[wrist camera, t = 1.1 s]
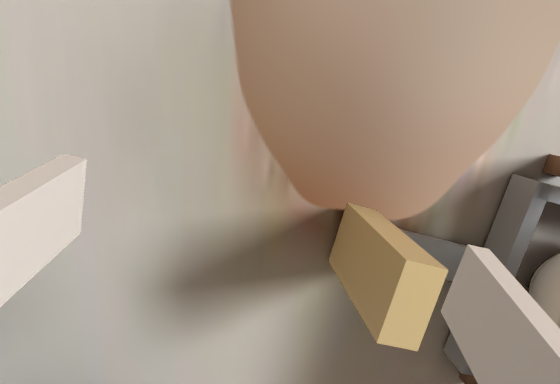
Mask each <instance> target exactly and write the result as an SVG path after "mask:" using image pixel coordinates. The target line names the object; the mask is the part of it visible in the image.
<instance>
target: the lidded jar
mask: <svg viewBox="0 0 560 384" xmlns="http://www.w3.org/2000/svg"><path fill="white" fill-rule="evenodd" d="M529 294H530V296H531V297H532V298H533V299H534V300H535V301H536V302H537V303H538V305H539V306H540V307H541V308H542V309H543V310H544V311H545V312H546V314H547V315H548V316H549V317H550V318H551V319H552V320H553V321H554V323H555V324H556V325H557V326H558V327H559V328H560V253H559V254H557V255H555V256H553V257H551V258H549V259H547V260H546V261H545V262H543V263H542V264H541V265H540V266H539V267H538V268H537V270H536V271H535V273H534V274H533V276H532V278H531V281H530V284H529Z"/></svg>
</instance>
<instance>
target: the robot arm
mask: <svg viewBox="0 0 560 384" xmlns="http://www.w3.org/2000/svg"><path fill="white" fill-rule="evenodd" d="M86 163H87V159H85V158H81V157H76V156H72V155H67V154H62V155H60V156H58V157H57V158H55V159H53V160H51V161H49V162H47V163H45V164H43V165H41V166H39V167H37V168H35V169H33V170H31V171H29V172H27V173H26V174H24V175H22V176H20V177H18V178H16V179H14V180H12V181H10V182H8V183H6V184H4V185H2V186H0V307H1V306H2V305H3V304H4V303H5V302H6V301H8V300H9V299H10V298H11V297H12V296H13V295H14V294H15V293H16V292H17V291H18V290H19V289H21V288H22V287H23V286H24V285H25V284H26V283H27V282H28V281H29V280H30V279H31V278H32V277H34V276H35V275H36V274H37V273H38V272H39V271H40V270H41V269H42V268H43V267H44V266H45V265H47V264H48V263H49V262H50V261H51V260H52V259H53V258H54V257H55V256H56V255H57V254H58V253H60V252H61V251H62V250H63V249H64V248H65V247H66V246H67V245H68V244H69V243H70V242H71V241H72V240H74V239H75V238H76V237H77V236H78V235H79V234H80V233H81V222H82V210H83V198H84V187H85V175H86ZM441 313H442V315H443V317H444V319H445V321H446V323H447V325H448V327H449V329H450V331H451V333H452V335H453V336H454V338H455V340H456V342H457V344H458V346H459V348H460V350H461V352H462V354H463V356H464V358H465V360H466V362H467V364H468V366H469V367H470V369H471V371H472V373H473V375H474V377H475V379H476V381H477V383H478V384H560V328H559V327H558V326H557V325H556V324H555V323H554V321H553V320H552V319H551V318H550V317H549V316H548V315H547V314H546V312H545V311H544V310H543V309H542V308H541V307H540V306H539V305H538V303H537V302H536V301H535V300H534V299H533V298H532V297H531V296H530V294H529V293H528V292H527V291H526V290H525V289H524V288H523V287H522V285H521V284H520V283H519V282H518V281H517V280H516V279H515V278H514V276H513V275H512V274H511V273H510V272H509V271H508V270H507V269H506V267H505V266H504V265H503V264H502V263H501V262H500V261H499V260H498V258H497V257H496V256H495V255H494V254H493V253H492V252H491V251H490V249H487V248H482V247H478V246H473V245H469V244H468V245H467V247H466V250H465V252H464V255H463V257H462V259H461V262H460V264H459V267H458V269H457V272H456V274H455V277H454V279H453V282H452V284H451V287H450V289H449V292H448V294H447V296H446V299H445V301H444V304H443V306H442V309H441Z"/></svg>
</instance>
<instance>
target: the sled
mask: <svg viewBox="0 0 560 384" xmlns="http://www.w3.org/2000/svg"><path fill="white" fill-rule="evenodd" d="M547 201H549V202H552V203H556V204H560V187H558V186H554V185H551V184H547V183H544V182H540V181H537V180H533V179H530V178H527V177H523V176H520V175H516V174H512V177H511V179H510V182H509V184H508V187H507V189H506V192H505V194H504V197H503V199H502V202H501V205H500V207H499V210H498V212H497V215H496V217H495V220H494V222H493V225H492V227H491V230H490V233H489V235H488V238H487V240H486V243H485V245H484V248H487V249H490V251H491V252H492V253H493V254H494V255H495V256H496V257H497V258H498V260H499V261H500V262H501V263H502V264H503V265H504V266H505V267H506V269H507V270H508V271H509V272H510V273H511V274H512V275H513V276H514V278H515V277H516V274H517V272H518V269H519V267H520V264H521V262H522V260H523V257H524V255H525V252H526V250H527V247H528V245H529V243H530V240H531V238H532V235H533V233H534V231H535V228H536V226H537V223H538V221H539V218H540V216H541V214H542V211H543V209H544V206H545V204H546V202H547ZM466 247H467V245H463V244H459V243H455V242H451V241H447V240H443V239H439V238H435V237H431V236H427V235H423V234H419V233H415V232H411V231H407V230H403V229H399V228H397V227H396V226H395V225H394V224H393V223H391V222H390V221H389V220H388V219H387V218H385V217H384V216H383V215H382V214H381V213H379V212H378V211H377V210H374V209H370V208H367V207H363V206H359V205H355V204H351V203H347V205H346V208H345V211H344V214H343V217H342V220H341V223H340V226H339V229H338V232H337V235H336V239H335V242H334V245H333V248H332V251H331V254H330V257H329V260H328V261H329V263H330V264H331V266H332V268H333V270H334V271H335V273H336V275H337V276H338V278H339V280H340V282H341V283H342V285H343V287H344V288H345V290H346V292H347V293H348V295H349V297H350V299H351V300H352V302H353V304H354V305H355V307H356V309H357V310H358V312H359V314H360V316H361V317H362V319H363V321H364V322H365V324H366V326H367V328H368V329H369V331H370V333H371V334H372V336H373V338H374V339H375V341H376V343H378V344H383V345H388V346H393V347H398V348H403V349H408V350H413V351H418V349H419V347H420V344H421V341H422V339H423V336H424V333H425V331H426V328H427V326H428V323H429V320H430V318H431V315H432V312H433V310H434V307H435V305H436V302H437V299H438V297H439V294H440V291H441V289H442V286H443V284H444V281H445V280H448V281H452V282H453V279H454V277H455V274H456V272H457V269H458V267H459V264H460V262H461V259H462V257H463V255H464V252H465V250H466ZM443 352H444V353H445V354H446V355H447V357H448V358H449V359H450V360H451V362H452V363H453V364H454V365H455V366H456V368H457V369H458V370H459V371H460V373H461V374H466V375H471V376H474V375H473V373H472V371H471V369H470V367H469V366H468V364H467V362H466V360H465V358H464V356H463V354H462V352H461V350H460V348H459V346H458V344H457V342H456V340H455V338H454V336H453V335H452V333H451V332H450V334H449V337H448V339H447V342H446V344H445V347H444V350H443Z"/></svg>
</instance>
